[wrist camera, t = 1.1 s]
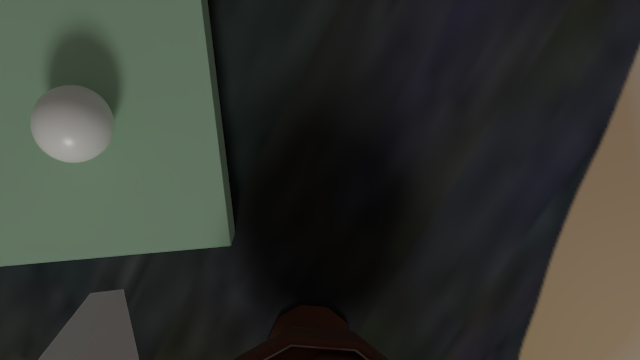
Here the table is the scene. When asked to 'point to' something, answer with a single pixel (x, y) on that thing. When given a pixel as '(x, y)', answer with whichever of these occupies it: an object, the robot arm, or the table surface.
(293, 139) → the table surface
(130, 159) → the putting mat
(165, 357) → the table surface
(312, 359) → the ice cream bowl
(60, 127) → the ball
